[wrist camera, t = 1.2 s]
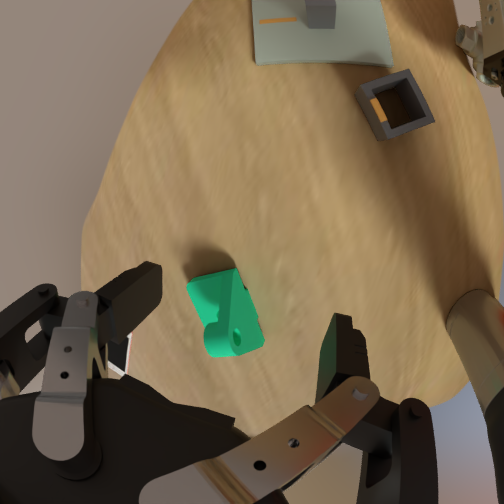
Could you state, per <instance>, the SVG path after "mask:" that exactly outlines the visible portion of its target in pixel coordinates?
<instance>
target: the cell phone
mask: <svg viewBox="0 0 504 504" xmlns="http://www.w3.org/2000/svg"><path fill="white" fill-rule="evenodd" d="M132 336H133V332H131V333H130V334H129V335H128V336H127V337H126V338H125V339H124V340H123V341H122V342H121V343H120V344H117V343H115V342H113V341H111V340H109V341H108V342H107V346H108V367H110V368H111V369H112V370H114V371H115V372H117V373H118V374H120V375H121V376H123V375H124V374H127V375H128V366H129V357H130V350H131V343H132Z"/></svg>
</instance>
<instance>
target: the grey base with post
mask: <svg viewBox="0 0 504 504" xmlns="http://www.w3.org/2000/svg"><path fill="white" fill-rule="evenodd" d="M252 14H253V28H254V44H255V60H256V64H257V65H258V66H259V65H270V64H285V63H345V64H360V65H371V66H380V67H388V68H392V67H393V66H394V64H393V58H392V52H391V46H390V40H389V35H388V30H387V26H386V21H385V17H384V13H383V9H382V5H381V1H380V0H252Z"/></svg>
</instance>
